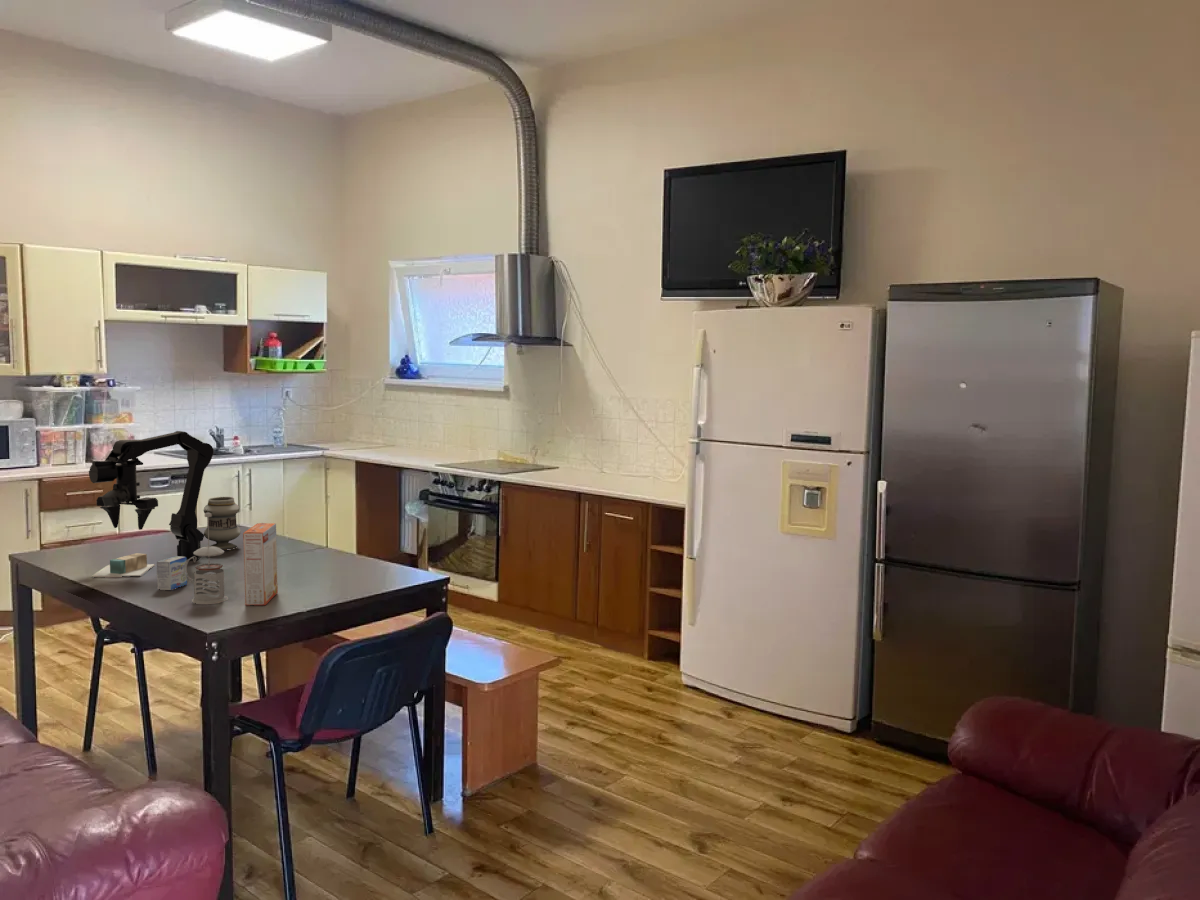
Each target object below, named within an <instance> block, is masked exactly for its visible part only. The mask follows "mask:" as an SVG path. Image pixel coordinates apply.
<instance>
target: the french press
mask: <svg viewBox="0 0 1200 900" xmlns="http://www.w3.org/2000/svg"><path fill="white" fill-rule="evenodd" d="M204 517H205V518H207V517H208V539H207V546H202V547H201V548H200V549H198V550H196V551H194V553H193V554H194V555H196V556H201V557H215V556H221V555H224V553H225V551H223V550H222V549H220V548H218V547H213V546H211V545H210V540H209V517H212V514H211V513H209V512H208V513H204ZM196 556H193V557H195V560H194V558H193V557H191V558H190V559H192V558H193V560H192V561H193V562H194V563H196V562H197V560H196V558H197V557H196ZM190 559H188V560H186V563H187V564H186V563H185V565H186V573H187V577H186V575H185V565H184V575H185V577H186V579H187V582H190V583H191V584H193V592H194V593H193V595H194V596H193V598H192V599H191V600H192V602H193V603H192V602H191V603H192V604H195V603H196V604H195V605H214V604H220V603H224V602H226V601H227V600H229V597H228V596H227V595H225V570H224V569H222V567H223V564H221V563H215V562H214V563H212V562H211V561H210V560H208V563H202V564H201V563H200V564H197V565H195V567H194V568H195V569H196V571H194V573H193V574H194V577H193V578H191V577H190V575H189V574H188V569H187V568H188V563H189V562H190V561H191V560H190ZM207 573H209V574H207ZM209 586H210V587H209Z"/></svg>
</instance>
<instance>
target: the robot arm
mask: <svg viewBox="0 0 1200 900" xmlns="http://www.w3.org/2000/svg"><path fill="white" fill-rule="evenodd" d="M177 445H178V446H179V447H180V448H181V449H183V450H184V451H186V460H187V464H188V471H187V474H186V475H187V476H186V480H185V485H184V489H183V494H182V498H181V502H180V506H179V510H178V511H177V512H176V513H175V512H174V513H171V516H170V522H169V524H168V526H170V527H169V528H170V531H171V533H172V534H173V535H174V537H175V540H177V541H178V544H177V545H176V556H182V557H186V561H187V560H188V559H190V558H191V557H193V556H196V555H194V554H193V553H194V551H196V550H198V549H200V548H202V547H201V546H202V545H201V542H203V540H204V537H205V536H204V532H202V531H200V530H199V529H198V518H197V513H196V509H197V505H198V500H199V496H200V491H201V487H202V481H203V479H204V478H203V477H204V475H205V474H204V473H205V470H206V469H207V467H208V466H209V464H211V461H212V458H213V456H214V453H215V448H213V446H212V445H211V444H210V443H208V442H203V441H201V440H199V439H198V438H196V437H194V436H192V435H191V434H189V432H187V431H181V430H176V431H174V432H169V433H165V434H161V435H160V434H159V435H156V436H153V437H152V436H151V437H148V438H142V439H119V440H116V441H115V442H114V444H113V446H112V450H111V451H110V453H108V455H107V457H106V458H105V460H92V461H91V466H90V467H89V471H88V476H89V481H90V482H92V484H99V483H109V482H114V481H115V479H116V483H113V486H112V490H109V491H108V492H106V493H105V494H103V495H102V496H101V495H100V496H98V497H97V498H96V500H95V501H96V502H95V503H96V507H99V508H100V509H102V510H104V511H105V512H106V514H107V515H108V516H109V519H110V522H111V523H112V525H113V528H114V529H117V528H118V527H119V522H120V521H119V520H120V512H121V505H125V506H134V507H136V509H134V511H135V513H136V514H137V526H138V530H140V531H141V530H143V528H144V526H145V524H146V522H147V520H148V518H149V516H150V514H151V512H152V510H155V508H156V507H157V508H158V507H159V500H158V499H157V497H148V496H147V497H141V495H140V494H138V487H140V482H137V481H138V480H137V466H143V465H144V462H142V461H141V460H140V459H139V457H141V456H143V455H144V454H146V453H147V452H148V453H149V452H151V451H154V450H159V449H160V450H161V449H164V448H168V447H172V446H177ZM196 557H197V558H196V561H197V560H199V559H200V558H201V557H202V556H196ZM193 558H194V560H195V557H193ZM193 558H192V559H190V560H189V561H193Z"/></svg>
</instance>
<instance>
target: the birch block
mask: <svg viewBox="0 0 1200 900" xmlns="http://www.w3.org/2000/svg"><path fill="white" fill-rule="evenodd" d="M147 564H148V556H147V554H146V553H140V552H139V553H136V552H135V553H132V554H128V555H124V556H120V557H118V558H113V559H109V565H110V573H116V574H122V573H126V572H129V571H133V570H136V569H140V568H143V567H147Z"/></svg>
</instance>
